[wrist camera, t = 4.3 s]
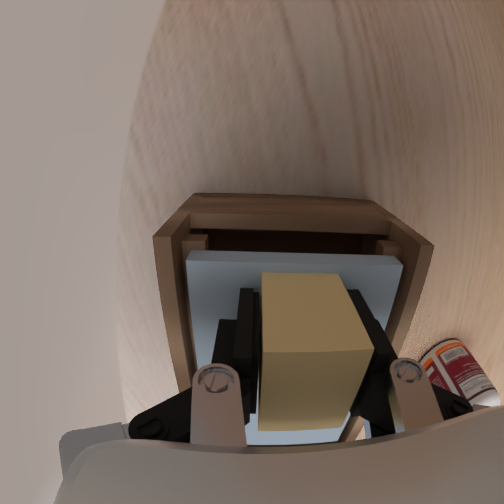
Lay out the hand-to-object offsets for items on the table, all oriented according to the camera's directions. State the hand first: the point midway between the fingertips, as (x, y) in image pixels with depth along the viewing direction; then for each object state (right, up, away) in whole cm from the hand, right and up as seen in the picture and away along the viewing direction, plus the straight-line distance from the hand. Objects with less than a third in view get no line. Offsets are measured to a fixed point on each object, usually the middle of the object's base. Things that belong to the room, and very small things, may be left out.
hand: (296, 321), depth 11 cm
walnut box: (0, -1, +9) cm, 9 cm away
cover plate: (0, -4, +3) cm, 5 cm away
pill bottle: (+17, -8, +11) cm, 22 cm away
